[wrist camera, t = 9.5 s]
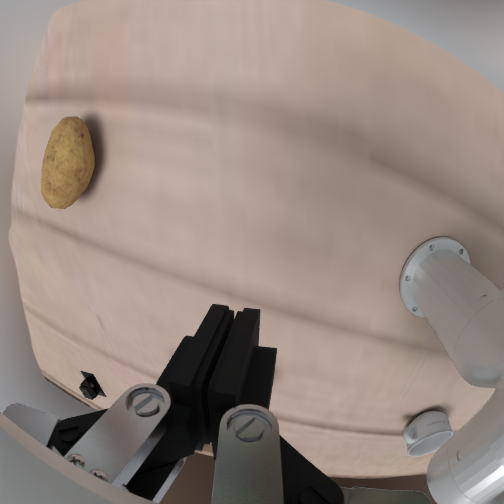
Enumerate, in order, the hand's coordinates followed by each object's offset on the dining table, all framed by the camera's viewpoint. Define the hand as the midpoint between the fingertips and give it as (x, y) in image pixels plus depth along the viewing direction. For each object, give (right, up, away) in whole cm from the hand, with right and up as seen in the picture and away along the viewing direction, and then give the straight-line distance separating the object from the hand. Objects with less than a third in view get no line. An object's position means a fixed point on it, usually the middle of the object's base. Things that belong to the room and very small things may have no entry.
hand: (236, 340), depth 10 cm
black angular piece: (-39, -30, +47) cm, 68 cm away
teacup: (+38, -34, +35) cm, 61 cm away
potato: (-26, +18, +27) cm, 42 cm away
